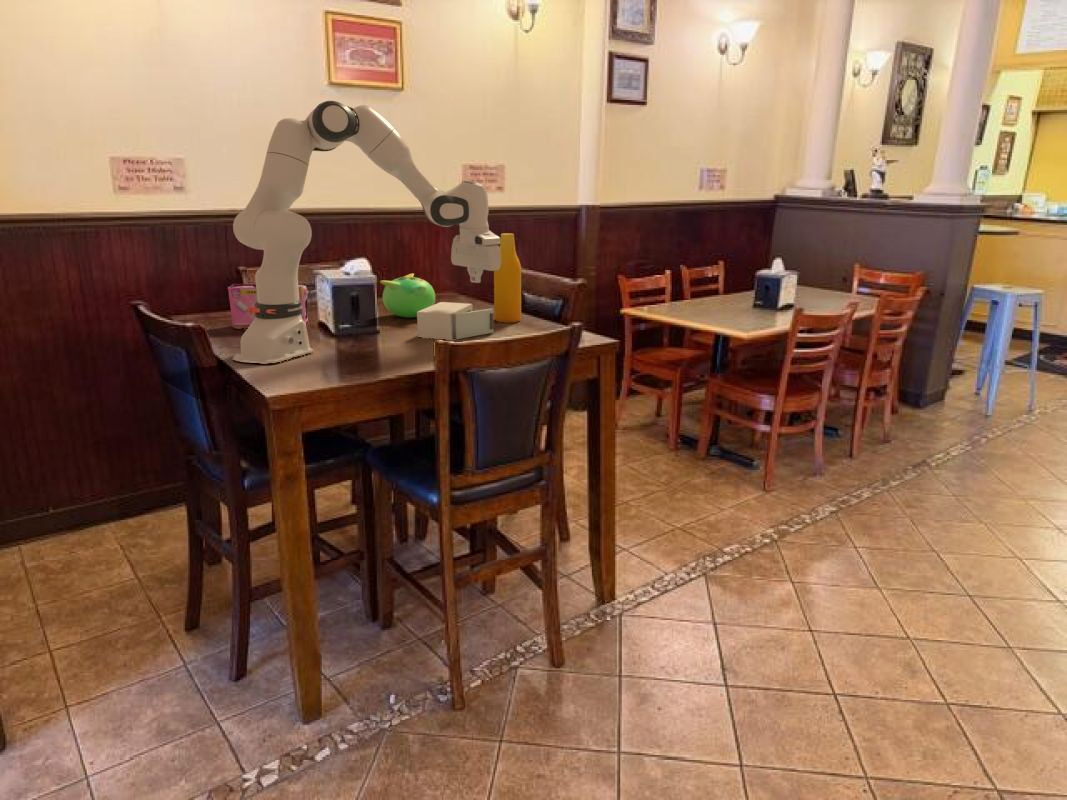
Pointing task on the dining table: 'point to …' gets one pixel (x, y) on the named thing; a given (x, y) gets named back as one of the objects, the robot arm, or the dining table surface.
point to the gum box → (247, 297)
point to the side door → (472, 323)
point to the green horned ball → (407, 295)
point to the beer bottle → (507, 283)
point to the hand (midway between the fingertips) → (475, 282)
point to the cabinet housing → (439, 319)
